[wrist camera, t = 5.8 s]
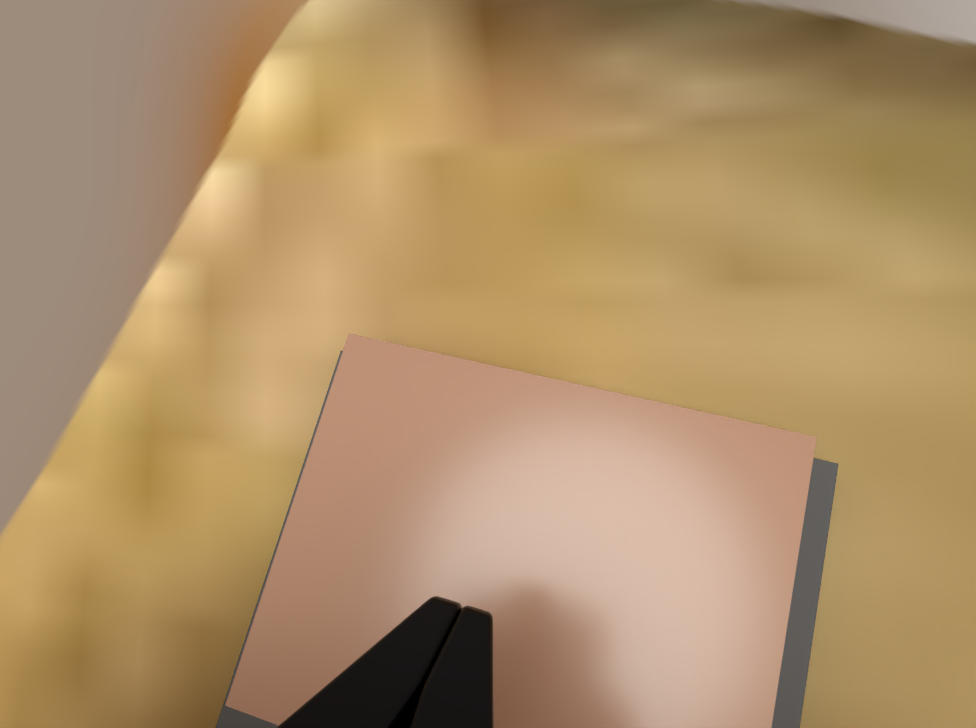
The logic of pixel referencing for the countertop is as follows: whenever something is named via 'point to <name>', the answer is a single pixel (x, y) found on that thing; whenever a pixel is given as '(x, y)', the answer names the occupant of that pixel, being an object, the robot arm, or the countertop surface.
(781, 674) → the mat
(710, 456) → the tile
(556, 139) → the countertop surface
